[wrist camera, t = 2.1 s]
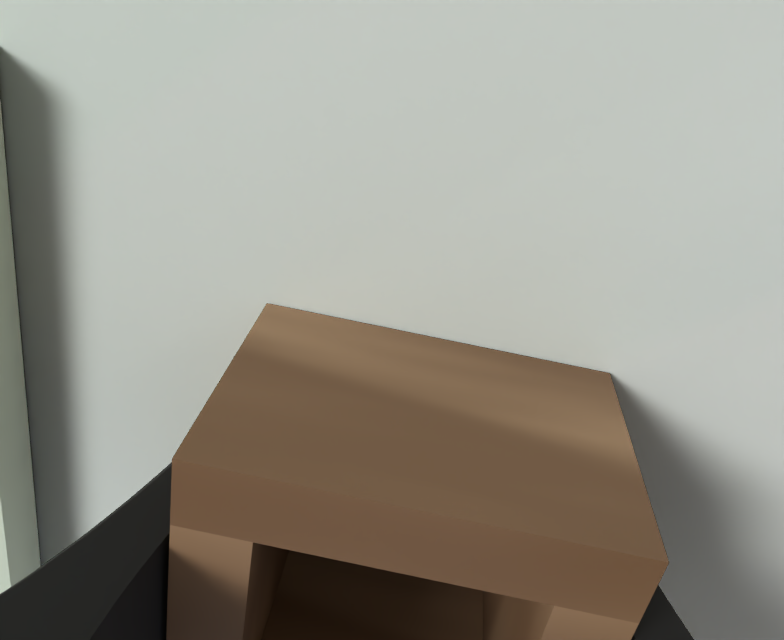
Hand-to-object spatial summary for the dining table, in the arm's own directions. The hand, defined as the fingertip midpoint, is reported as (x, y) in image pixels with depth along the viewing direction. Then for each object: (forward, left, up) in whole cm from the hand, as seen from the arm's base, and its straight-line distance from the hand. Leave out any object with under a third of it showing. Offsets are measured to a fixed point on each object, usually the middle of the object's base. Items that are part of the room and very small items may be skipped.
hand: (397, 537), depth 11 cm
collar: (0, 0, -2) cm, 2 cm away
